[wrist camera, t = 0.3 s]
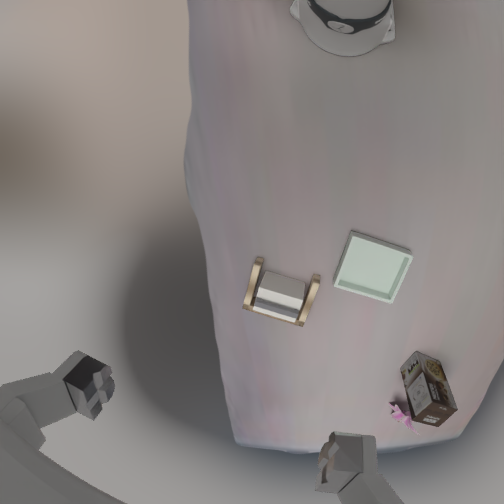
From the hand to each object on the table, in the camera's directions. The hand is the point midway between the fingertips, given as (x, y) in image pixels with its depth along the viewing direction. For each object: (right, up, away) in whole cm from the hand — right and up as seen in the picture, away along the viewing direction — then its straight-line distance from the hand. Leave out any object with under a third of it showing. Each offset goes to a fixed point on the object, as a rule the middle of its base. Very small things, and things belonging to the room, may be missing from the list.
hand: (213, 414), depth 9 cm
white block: (+7, -1, +50) cm, 51 cm away
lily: (+41, -35, +56) cm, 77 cm away
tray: (+24, +3, +45) cm, 51 cm away
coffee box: (+41, -21, +50) cm, 69 cm away
